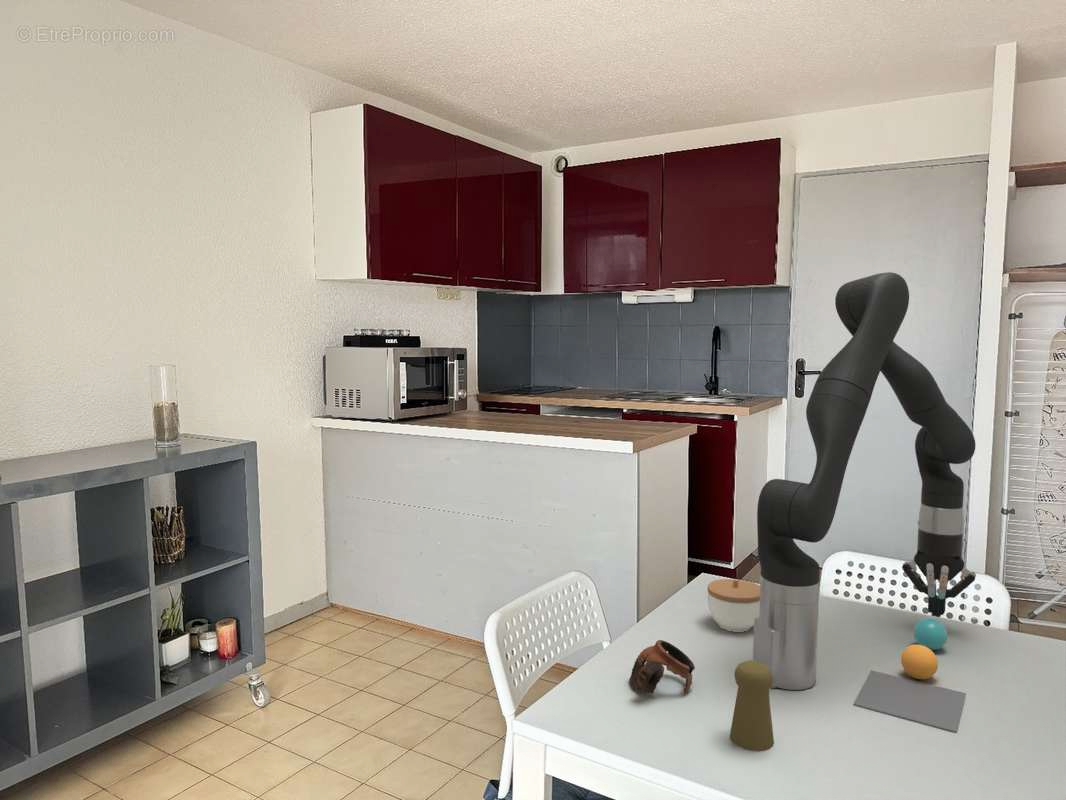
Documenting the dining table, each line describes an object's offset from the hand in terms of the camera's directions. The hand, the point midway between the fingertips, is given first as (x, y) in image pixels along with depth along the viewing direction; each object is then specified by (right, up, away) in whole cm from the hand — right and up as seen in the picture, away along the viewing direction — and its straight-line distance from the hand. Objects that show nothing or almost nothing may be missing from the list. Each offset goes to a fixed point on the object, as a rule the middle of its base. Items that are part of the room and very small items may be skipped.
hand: (936, 615), depth 143 cm
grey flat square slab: (-19, -6, -27) cm, 33 cm away
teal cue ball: (-6, -1, -8) cm, 10 cm away
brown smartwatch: (-58, -5, -23) cm, 63 cm away
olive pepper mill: (-47, -7, -38) cm, 61 cm away
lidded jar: (-38, -3, +2) cm, 39 cm away
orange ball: (-13, -2, -20) cm, 24 cm away
